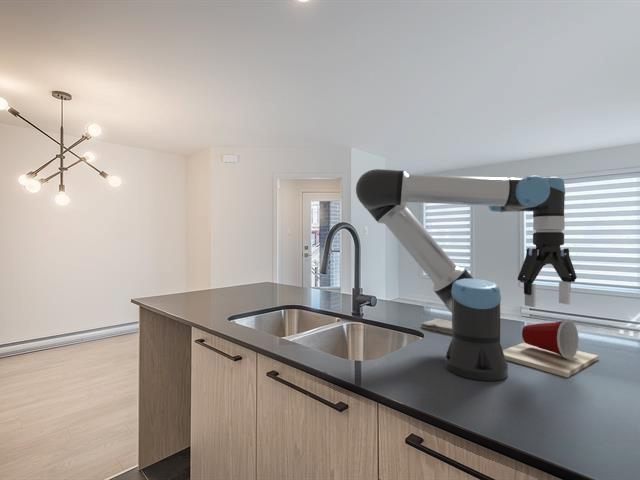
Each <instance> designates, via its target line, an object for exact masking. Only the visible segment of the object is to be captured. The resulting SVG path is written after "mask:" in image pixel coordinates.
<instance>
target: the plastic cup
mask: <svg viewBox="0 0 640 480" xmlns="http://www.w3.org/2000/svg"><path fill="white" fill-rule="evenodd" d="M521 331H522V332H521V338H522V339H523V342H525V343H527V344H529V345H532V346H536V347H538V348H541V349H545V350H548V351H551V352H554V353H557V354H559V355H562V356H563V357H564V358H567V359H572V358H573V357H574V356H575V354H576V352H577V351H578V348H579V341H580V339H579V332H578V328H577V326H576V324H575V323H574V321H572V320H570V319H565V320H561V321H555V322H543V323H534V324H527V325H524V326H523V328H522V330H521Z"/></svg>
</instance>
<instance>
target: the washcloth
mask: <svg viewBox="0 0 640 480" xmlns="http://www.w3.org/2000/svg"><path fill="white" fill-rule="evenodd" d="M420 327H421V328H423V329H425V328H426V329H425V330H429V329H430V330H429V331H432V332H437V331H439V332H438V333H442V334H446V335H451V336H452V320H446V319H442V318H433V319H432V320H427V321H424V322H421V325H420Z"/></svg>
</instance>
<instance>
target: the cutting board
mask: <svg viewBox="0 0 640 480" xmlns="http://www.w3.org/2000/svg"><path fill="white" fill-rule="evenodd" d="M502 350H503V353H504V356H505V359H506V361H507V362H508V361H509V362H513V363H516V364H519V365H523V366H525V367H526V366H527V367H528V368H529V367H530V368H533V369H537V370H539V371H540V370H541V371H542V372H543V371H544V372H547V373H550V374H553V375H554V374H555V375H557V376H560V377H564V378H569V377H570V378H571V376H573V375H574V374H576V373H578V372H580V371H582V370H583V369H585V368H587V367H588V366H590V365H592V364H593V363H595V362H597V361H598V360H599V359H600V358H599V354H594V353H589V352H584V351H580V350H577V352H576V354H575V356H574V357H573V358H572V359H567V358H564V357H563V356H562V355H559V354H557V353H554V352H551V351H548V350H545V349H541V348H538V347H536V346H532V345H529V344H527V343H525V341H523V342H521V343H519V344H516V345H513V346H510V347H508V348H505V349H502Z"/></svg>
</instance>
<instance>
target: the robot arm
mask: <svg viewBox="0 0 640 480" xmlns="http://www.w3.org/2000/svg"><path fill="white" fill-rule="evenodd" d="M565 187H566V186H565V181H564V179H563V178H562V177H559V176H550V177H549V176H548V177H541V176H540V175H528V176H523V177H495V176H493V177H491V176H468V175H467V176H461V175H458V176H457V175H431V174H430V175H429V174H408V173H407V172H406V171H405V170H395V169H381V168H380V169H379V168H377V169H376V168H375V169H371V170H367V171H366V172H364V173H363V174H362V175H360V177H359V178H358V181H357V182H356V186H355V195H356V198H357V199H358V201H359V203H361V205H362V206H363V207H364V209H366V210H367V211H368V212H369V214H370V215H371V216H372V218H373V219H374V220H375V221H376V222H377V223H378V224H384V225H385V226H386V227H387V228H388V229H389V230H390V232H391V233H392V234H393V235H394V237H395V238H396V239H397V241H399V243H400V244H401V245H402V246H403V248H404V249H405V250H406V251H407V252H408V254H409V255H410V256H411V258H413V260H414V261H415V262H416V263H417V265H418V266H419V267H420V268H421V269H422V271H423V272H424V273H425V275H427V277H428V279H430V280H431V281H432V283H433V289H432V290H433V292H434V293H435V295H437V297H438V298H439V300H441V301H442V304H444V306H445V307H446V309H447V310H448V311H449V312H451V321H452V335H451V339H450V342H449V345H448V348H447V351H446V353H445V358H444V363H445V365H444V366H445V368H446V369H447V370H448V371H449V372H451V373H452V374H455V375H457V376H460V377H464V378H466V379H471V380H476V381H477V380H478V381H483V382H484V381H485V382H486V381H488V382H489V381H491V382H493V381H494V382H495V381H502V380H504V379H507V378H508V376H509V365H508V361H507V360H506V359H505V356H504V353H503V350H504V349H503V347H502V345H501V302H502V301H501V300H502V295H501V289H500V287H499V286H498V284H497V283H495V282H493V281H490V280H486V279H481V278H474V277H473V276H472V275H471V273H469V271H468V270H467V269H466V267H462V266H457V265H456V264H455V263H454V262H453V260H452V259H451V258H450V256H448V254H447V253H446V252H445V251H444V250H443V248H442V247H441V246H440V245H439V243H438V242H437V241H436V239H434V237H433V236H432V235H431V234H430V233H429V231H427V229H426V228H425V226H423V225H422V223H421V222H420V221H419V220H418V219H417V218H416V217H415V215H414V214H413V212H411V210H410V209H409V208H408V206H407V203H423V204H441V205H442V204H445V205H446V204H447V205H463V206H464V205H467V206H487V207H488V209H489V210H490V211H491V212H494V213H495V212H497V213H498V212H500V213H503V212H504V213H506V212H508V213H510V212H532V213H533V214H532V217H533V221H532V223H533V227H532V229H533V231H535V232H533V233H532V244H533V245H534V246H535V248H534V247H532V248H530V247H529V248H526V253H525V258H524V261H523V262H522V265H521V268H520V271H519V273H518V277H517V280H518V281H520V283H523V294H524V306H526V307H531V308H536V292H537V291H536V283H534V281H535V280H536V278H537V277H538V276H539V274H540V272H541V271H542V269H543V267H544V266H546V265H552V267H553V268H554V271H555V272H556V274H557V275H558V276H559V278H560V280H559V281H558V304H564V305H571V283H575V282H576V279H577V274H576V271H575V268H574V265H573V263H572V259H571V257H570V248H567V247H564V248H563V247H561V246H564V245H565V233H564V232H563V231H564V230H565V229H566V227H565V226H566V225H565V223H566V222H565V197H566V188H565Z"/></svg>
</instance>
